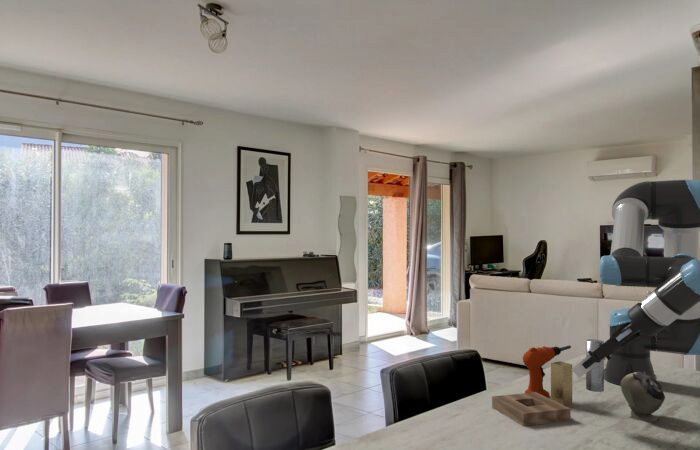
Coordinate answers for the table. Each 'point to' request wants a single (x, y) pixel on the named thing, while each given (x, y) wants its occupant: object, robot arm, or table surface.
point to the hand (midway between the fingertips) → (579, 371)
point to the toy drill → (539, 366)
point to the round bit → (595, 369)
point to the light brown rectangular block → (561, 382)
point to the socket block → (531, 408)
